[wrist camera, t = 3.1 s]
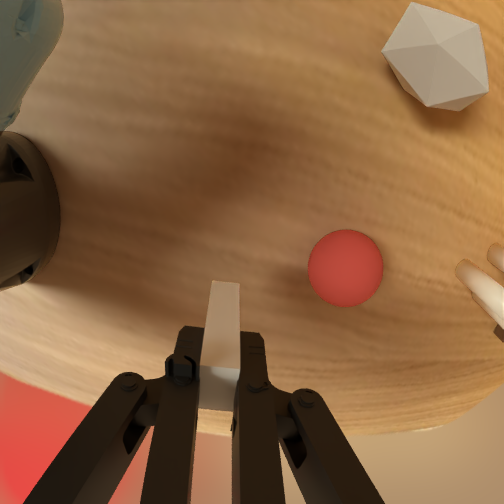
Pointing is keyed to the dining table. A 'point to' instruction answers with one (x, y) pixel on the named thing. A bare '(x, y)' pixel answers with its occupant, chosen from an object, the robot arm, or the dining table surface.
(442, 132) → the dining table surface
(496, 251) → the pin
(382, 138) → the dining table surface
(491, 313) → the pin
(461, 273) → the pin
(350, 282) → the ball
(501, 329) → the back rail
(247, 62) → the dining table surface
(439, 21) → the die
